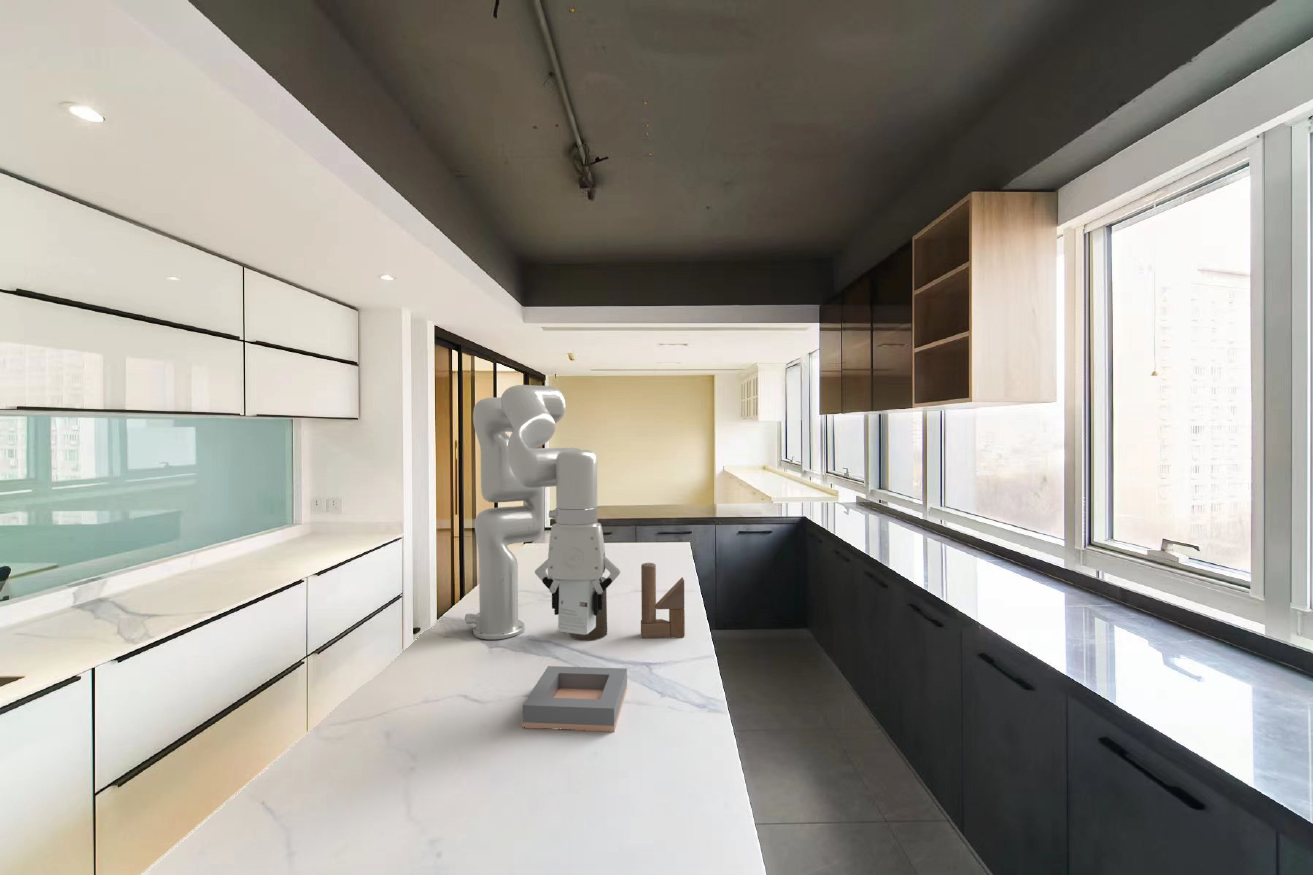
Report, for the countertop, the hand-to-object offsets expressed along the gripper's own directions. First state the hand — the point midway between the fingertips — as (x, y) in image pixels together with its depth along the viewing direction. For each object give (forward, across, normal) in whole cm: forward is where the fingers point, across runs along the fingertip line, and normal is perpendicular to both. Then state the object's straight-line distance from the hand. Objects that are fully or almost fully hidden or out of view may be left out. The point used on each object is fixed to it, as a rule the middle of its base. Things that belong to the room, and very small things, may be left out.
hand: (577, 612), depth 104 cm
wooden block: (+18, +13, +37) cm, 43 cm away
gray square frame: (+18, 0, 0) cm, 18 cm away
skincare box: (+3, 0, 0) cm, 3 cm away
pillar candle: (+18, -6, +37) cm, 42 cm away
